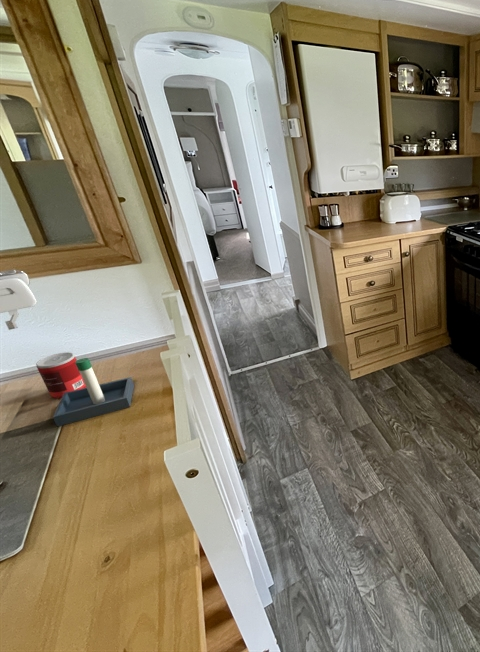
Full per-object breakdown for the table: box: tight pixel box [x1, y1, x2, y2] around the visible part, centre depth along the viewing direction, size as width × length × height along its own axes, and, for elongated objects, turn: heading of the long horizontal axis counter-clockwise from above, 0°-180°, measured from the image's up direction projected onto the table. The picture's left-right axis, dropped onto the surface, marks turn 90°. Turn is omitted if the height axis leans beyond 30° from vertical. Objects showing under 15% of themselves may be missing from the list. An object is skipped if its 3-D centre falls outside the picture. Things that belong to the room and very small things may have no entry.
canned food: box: [35, 352, 86, 399], centre depth 110 cm, size 8×8×11 cm
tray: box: [52, 376, 135, 427], centre depth 106 cm, size 15×13×3 cm
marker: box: [75, 357, 105, 404], centre depth 104 cm, size 3×3×14 cm
